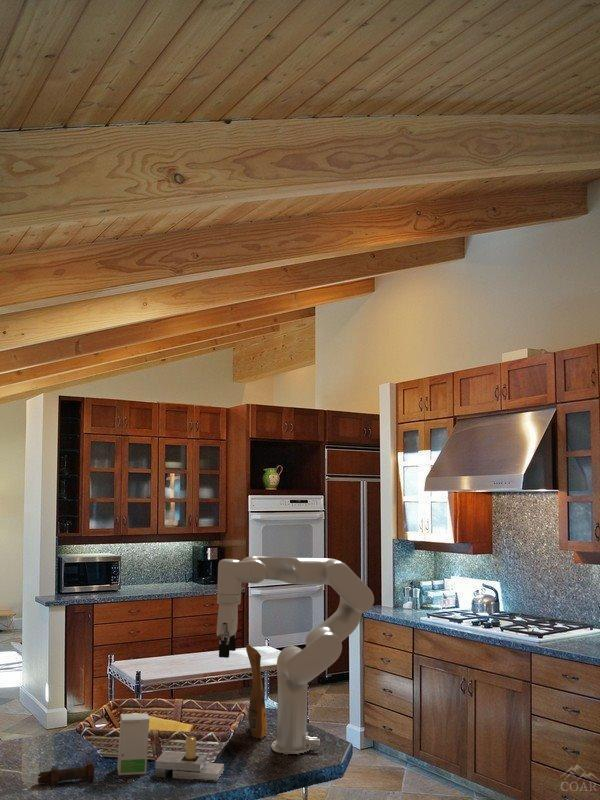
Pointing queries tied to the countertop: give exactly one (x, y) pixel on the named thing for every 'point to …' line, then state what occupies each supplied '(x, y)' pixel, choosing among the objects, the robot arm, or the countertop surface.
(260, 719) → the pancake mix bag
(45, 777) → the bolt
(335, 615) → the robot arm
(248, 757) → the countertop surface
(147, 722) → the skincare box
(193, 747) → the pin
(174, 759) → the grey electronic gadget
